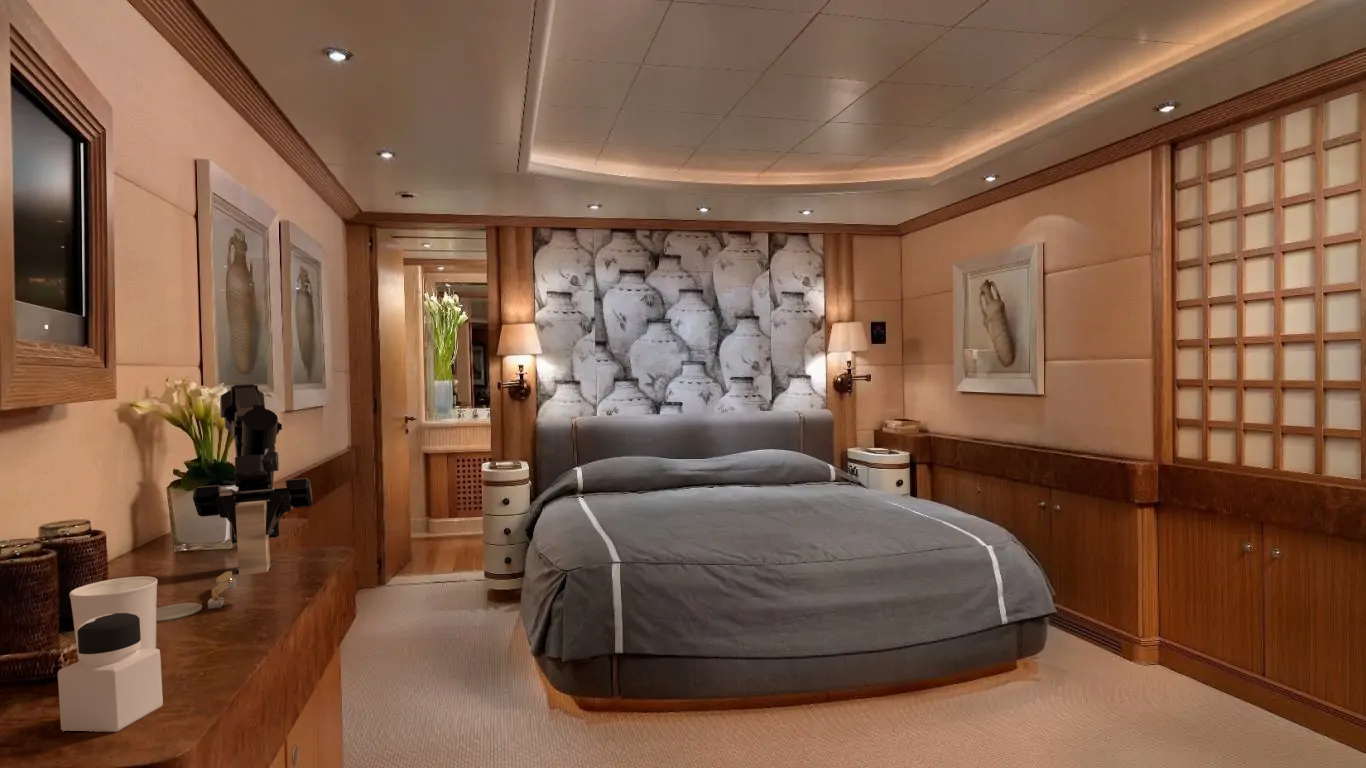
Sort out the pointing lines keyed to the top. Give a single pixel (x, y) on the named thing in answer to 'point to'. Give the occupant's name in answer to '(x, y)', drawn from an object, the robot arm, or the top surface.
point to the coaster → (177, 611)
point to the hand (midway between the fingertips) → (251, 535)
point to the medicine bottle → (109, 677)
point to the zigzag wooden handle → (221, 589)
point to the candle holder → (119, 603)
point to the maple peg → (252, 537)
